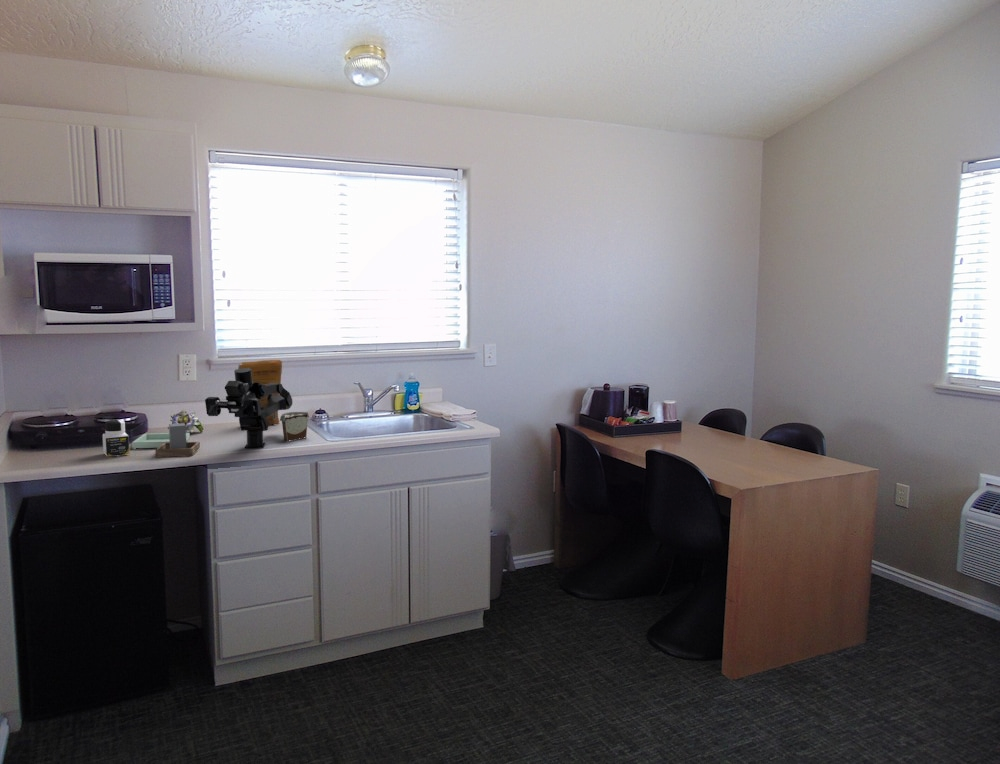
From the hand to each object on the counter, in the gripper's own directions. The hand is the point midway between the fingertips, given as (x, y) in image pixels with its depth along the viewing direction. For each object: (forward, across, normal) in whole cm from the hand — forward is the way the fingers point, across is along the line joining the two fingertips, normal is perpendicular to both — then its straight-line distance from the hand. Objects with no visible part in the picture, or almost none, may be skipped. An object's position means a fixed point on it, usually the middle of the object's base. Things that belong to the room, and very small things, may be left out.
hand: (221, 415), depth 244 cm
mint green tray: (-19, -35, +20) cm, 44 cm away
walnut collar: (-7, -22, +17) cm, 29 cm away
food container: (-37, +8, +23) cm, 44 cm away
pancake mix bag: (-61, -15, +28) cm, 68 cm away
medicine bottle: (-1, -41, +16) cm, 44 cm away
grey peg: (-7, -22, +18) cm, 29 cm away
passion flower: (-39, -37, +24) cm, 59 cm away
